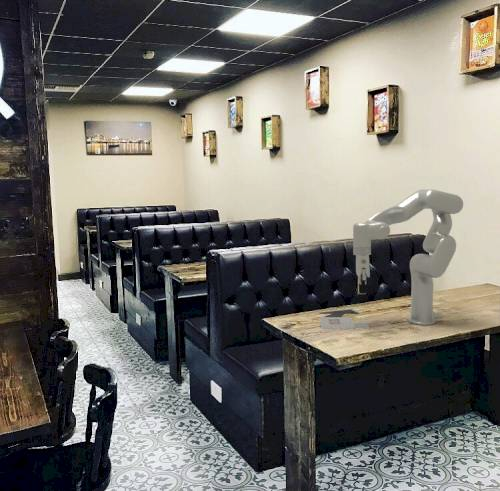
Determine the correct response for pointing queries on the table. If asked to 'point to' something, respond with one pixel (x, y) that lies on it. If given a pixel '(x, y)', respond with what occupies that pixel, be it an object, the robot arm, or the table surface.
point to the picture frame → (338, 312)
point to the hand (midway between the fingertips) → (362, 291)
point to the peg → (358, 286)
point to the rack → (340, 323)
